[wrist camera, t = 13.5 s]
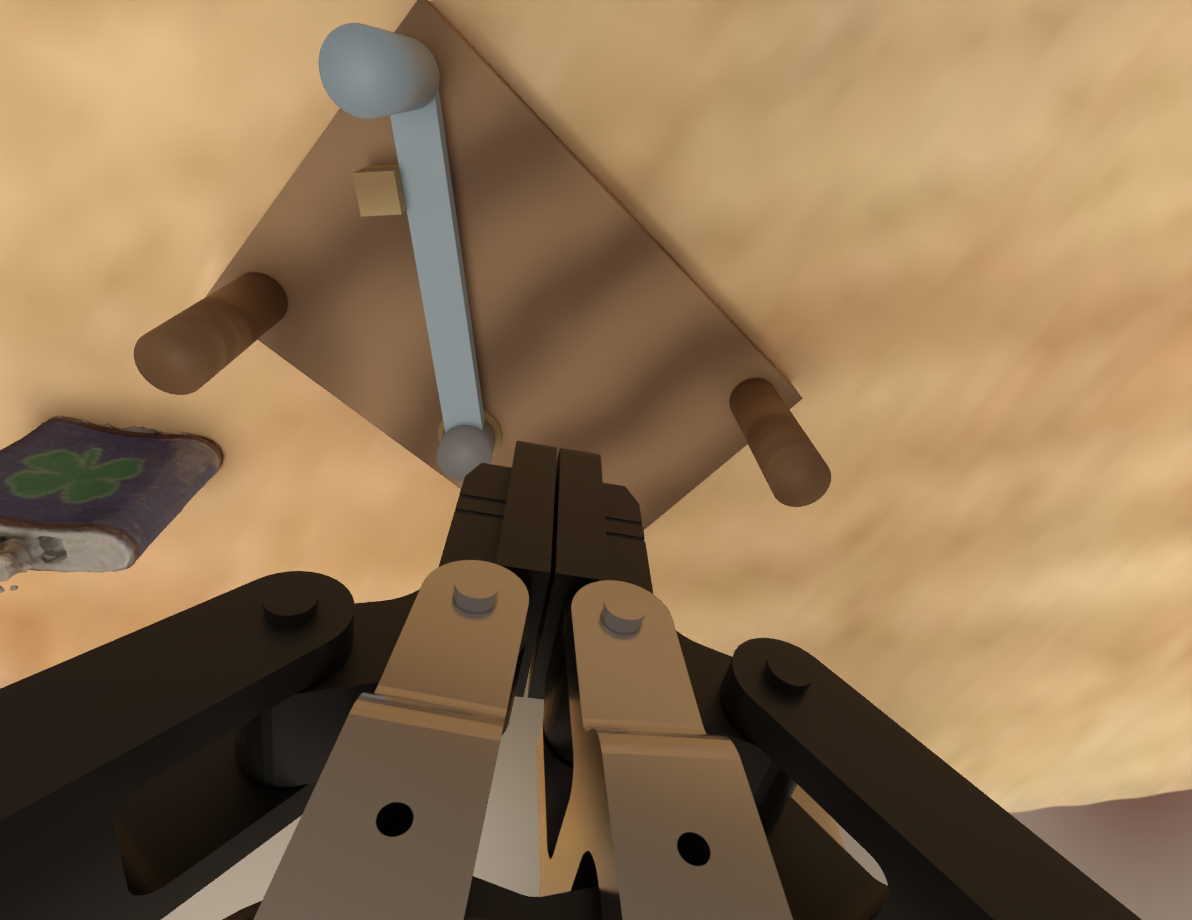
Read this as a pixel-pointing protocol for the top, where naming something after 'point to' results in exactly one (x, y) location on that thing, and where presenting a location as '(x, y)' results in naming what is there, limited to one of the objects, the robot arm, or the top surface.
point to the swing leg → (420, 214)
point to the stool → (496, 304)
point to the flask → (93, 494)
